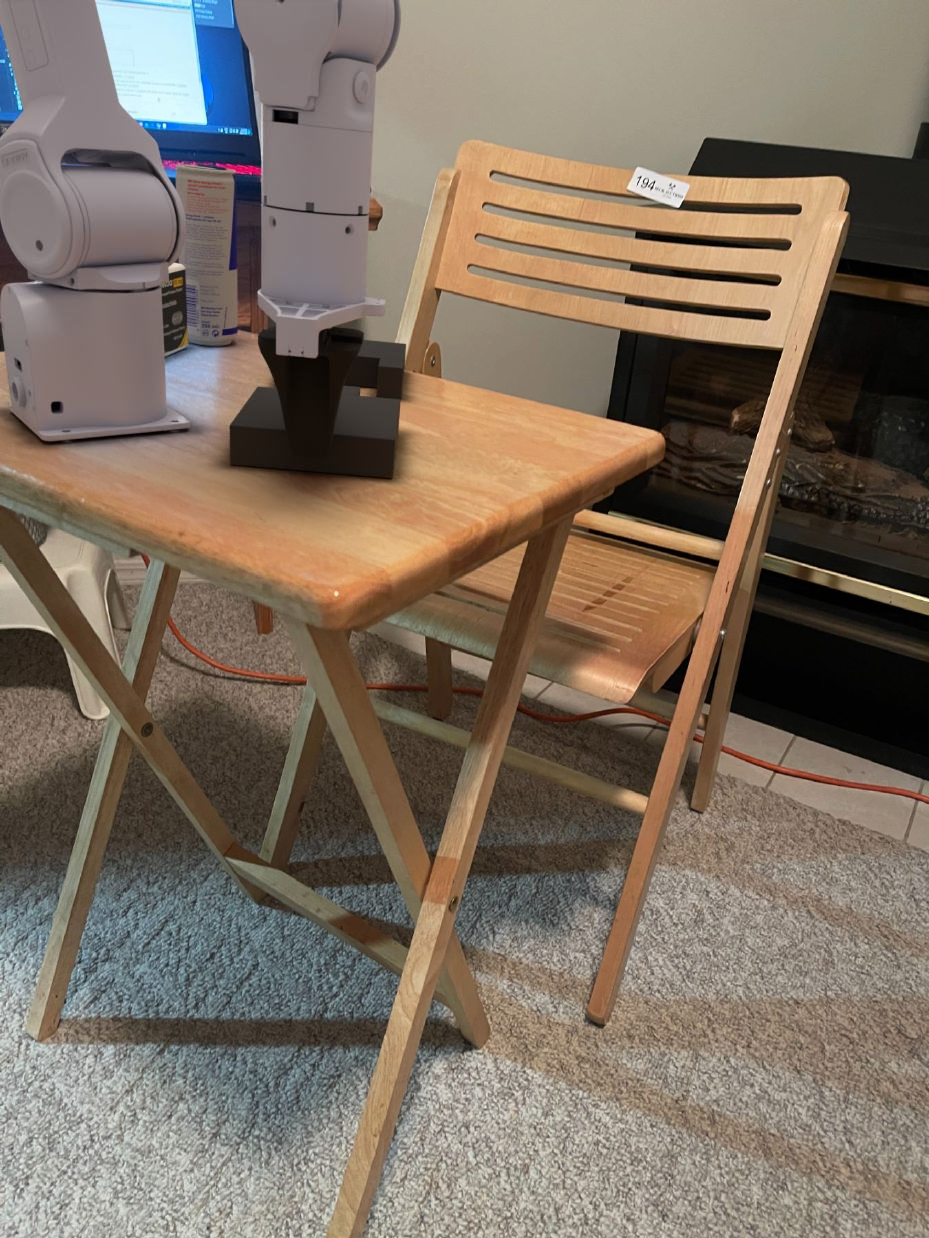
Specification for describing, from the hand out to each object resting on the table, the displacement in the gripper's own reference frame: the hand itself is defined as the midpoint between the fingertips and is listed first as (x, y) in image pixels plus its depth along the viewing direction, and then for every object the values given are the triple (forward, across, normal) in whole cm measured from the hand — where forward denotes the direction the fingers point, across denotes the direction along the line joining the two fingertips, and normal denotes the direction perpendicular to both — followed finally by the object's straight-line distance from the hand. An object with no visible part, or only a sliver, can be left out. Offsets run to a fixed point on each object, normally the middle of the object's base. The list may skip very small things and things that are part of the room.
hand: (309, 454), depth 56 cm
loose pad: (+1, +7, 0) cm, 7 cm away
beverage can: (+2, +36, +14) cm, 38 cm away
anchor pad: (+1, +26, 0) cm, 26 cm away
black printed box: (+2, +30, +19) cm, 35 cm away
